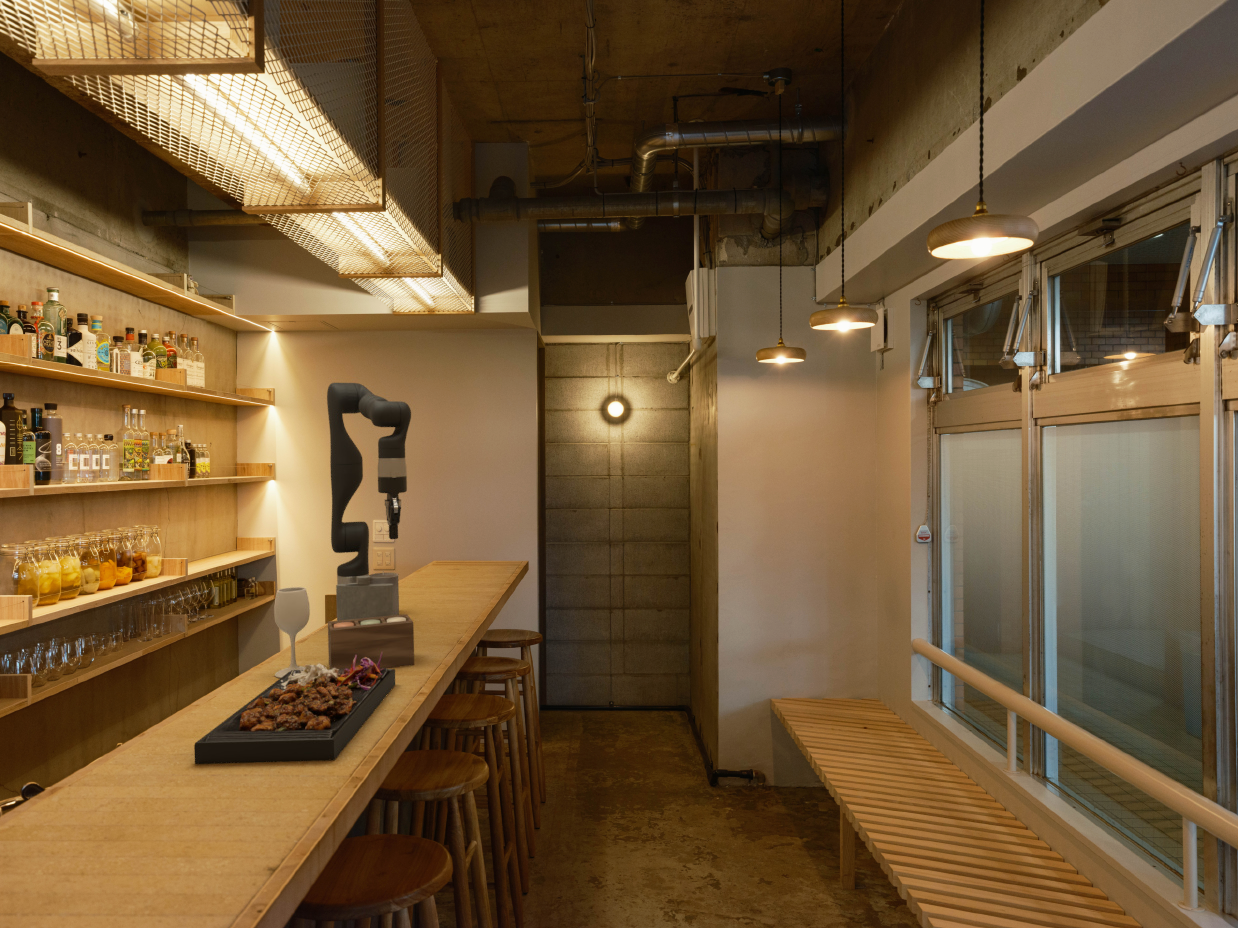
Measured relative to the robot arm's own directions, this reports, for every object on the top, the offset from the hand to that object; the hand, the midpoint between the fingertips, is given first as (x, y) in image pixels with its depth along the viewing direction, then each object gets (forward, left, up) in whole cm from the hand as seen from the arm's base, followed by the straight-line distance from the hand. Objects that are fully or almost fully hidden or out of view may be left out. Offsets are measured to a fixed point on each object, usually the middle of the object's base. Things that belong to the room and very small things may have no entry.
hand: (393, 538), depth 217 cm
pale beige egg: (+10, -1, -23) cm, 25 cm away
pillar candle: (-50, +3, -31) cm, 59 cm away
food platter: (+47, -24, -32) cm, 61 cm away
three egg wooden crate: (+10, -8, -31) cm, 33 cm away
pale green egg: (+10, -8, -23) cm, 26 cm away
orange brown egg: (+10, -14, -23) cm, 29 cm away
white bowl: (+9, -26, -31) cm, 42 cm away
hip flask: (-10, -7, -31) cm, 34 cm away
